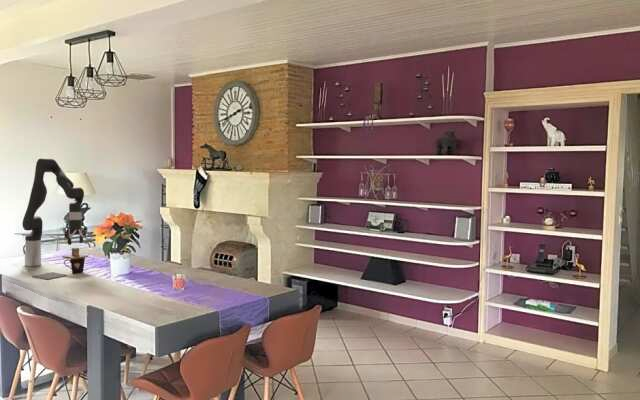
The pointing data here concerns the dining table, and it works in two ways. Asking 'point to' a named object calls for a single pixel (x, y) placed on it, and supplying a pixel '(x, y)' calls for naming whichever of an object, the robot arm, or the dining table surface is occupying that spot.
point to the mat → (49, 275)
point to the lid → (75, 254)
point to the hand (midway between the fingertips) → (75, 243)
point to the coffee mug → (76, 265)
